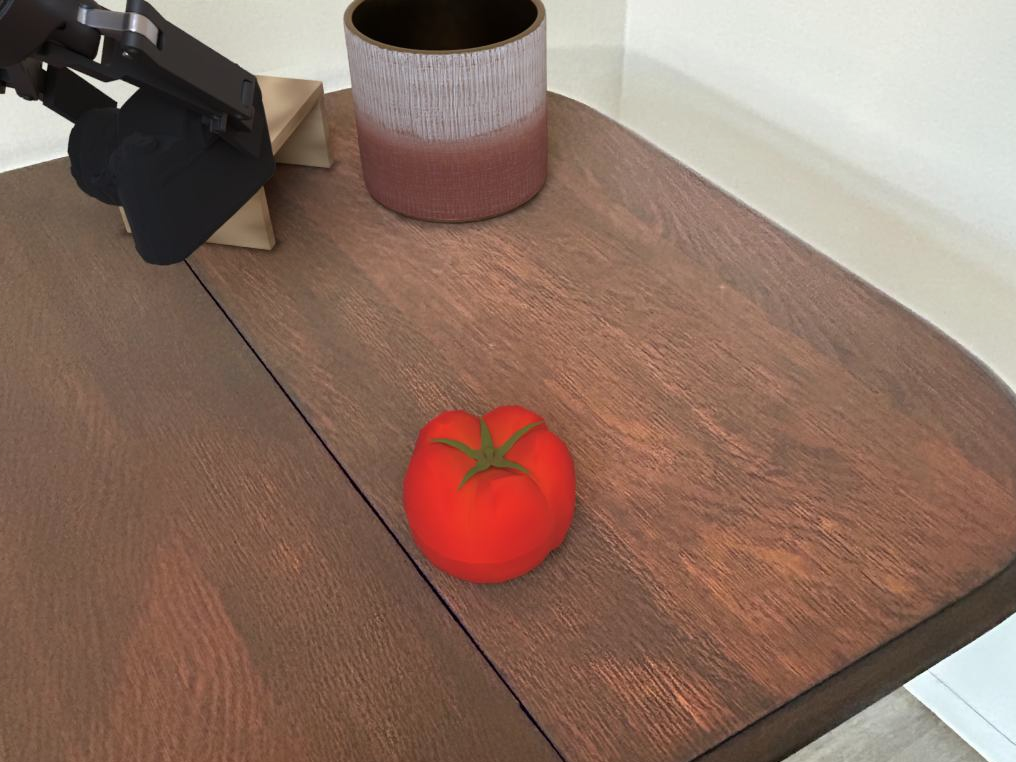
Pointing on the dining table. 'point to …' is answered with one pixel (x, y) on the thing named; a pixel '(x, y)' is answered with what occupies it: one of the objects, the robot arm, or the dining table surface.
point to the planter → (450, 104)
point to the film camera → (165, 172)
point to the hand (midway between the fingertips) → (182, 130)
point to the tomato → (489, 493)
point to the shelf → (280, 153)
